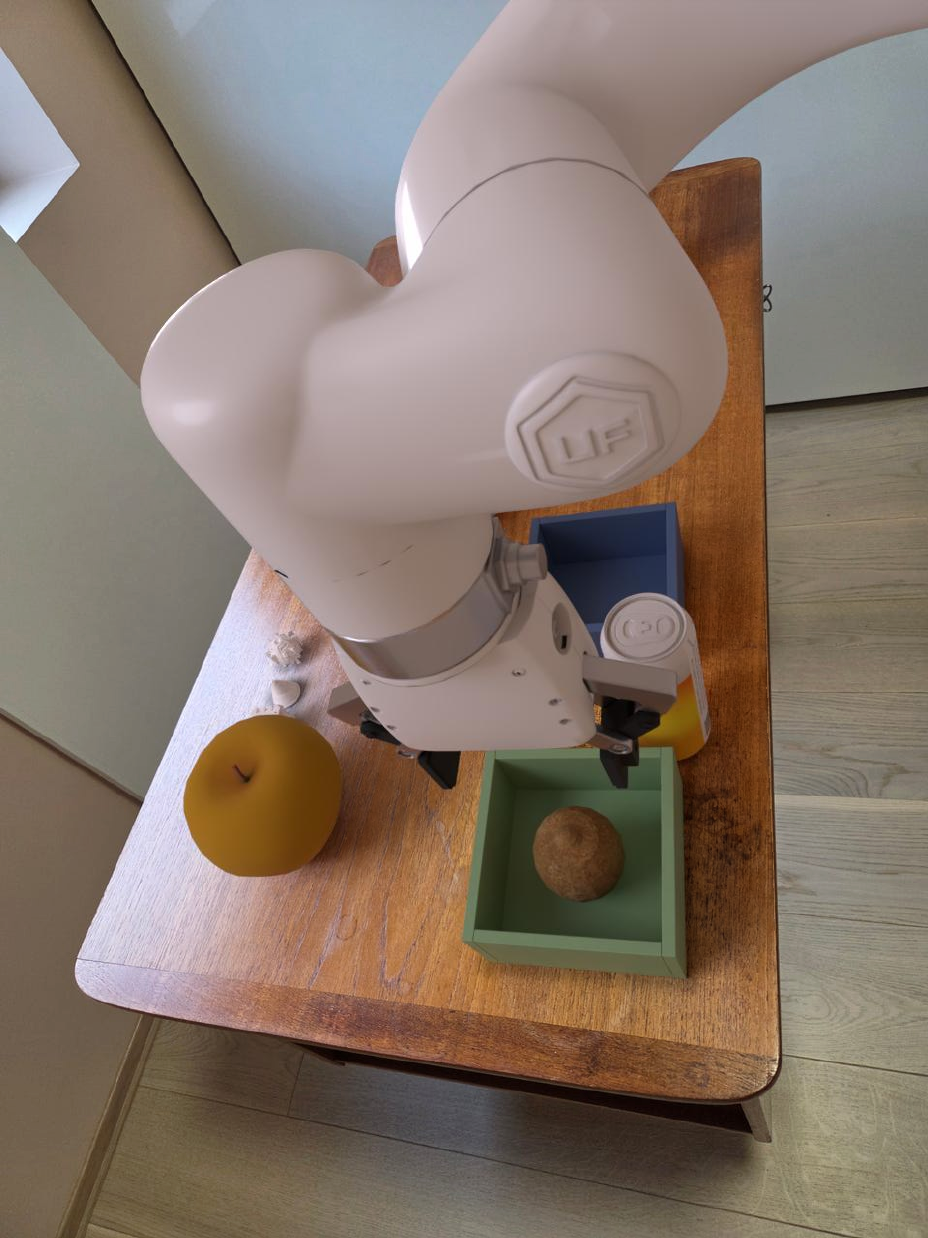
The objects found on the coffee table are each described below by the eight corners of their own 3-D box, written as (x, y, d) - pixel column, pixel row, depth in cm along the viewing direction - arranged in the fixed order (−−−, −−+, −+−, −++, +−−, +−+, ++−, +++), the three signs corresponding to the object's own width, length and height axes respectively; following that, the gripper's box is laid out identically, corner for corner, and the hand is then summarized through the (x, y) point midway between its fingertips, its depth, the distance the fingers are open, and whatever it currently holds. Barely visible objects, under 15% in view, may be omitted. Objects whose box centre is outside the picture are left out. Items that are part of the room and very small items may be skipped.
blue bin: (683, 549, 70) (675, 501, 65) (686, 669, 64) (678, 626, 59) (548, 562, 75) (531, 518, 70) (537, 676, 68) (517, 636, 63)
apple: (366, 738, 70) (306, 675, 61) (378, 878, 62) (311, 829, 53) (239, 777, 72) (164, 722, 63) (235, 918, 64) (148, 877, 55)
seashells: (294, 748, 72) (276, 733, 70) (263, 753, 73) (244, 738, 70) (309, 641, 79) (294, 623, 77) (280, 646, 80) (264, 630, 77)
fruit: (615, 930, 54) (593, 898, 47) (535, 895, 57) (504, 861, 51) (645, 846, 56) (628, 806, 50) (567, 818, 59) (542, 776, 53)
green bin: (682, 783, 58) (673, 746, 53) (686, 979, 51) (675, 957, 46) (509, 783, 63) (485, 749, 58) (490, 962, 56) (461, 941, 51)
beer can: (632, 697, 64) (598, 591, 52) (709, 694, 62) (692, 583, 50) (631, 766, 60) (595, 669, 49) (713, 765, 58) (695, 664, 47)
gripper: (644, 479, 29) (694, 696, 42) (254, 535, 35) (404, 709, 48) (643, 652, 25) (699, 832, 38) (202, 681, 31) (382, 828, 44)
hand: (534, 763), depth 43 cm, fingers open, 9 cm apart
